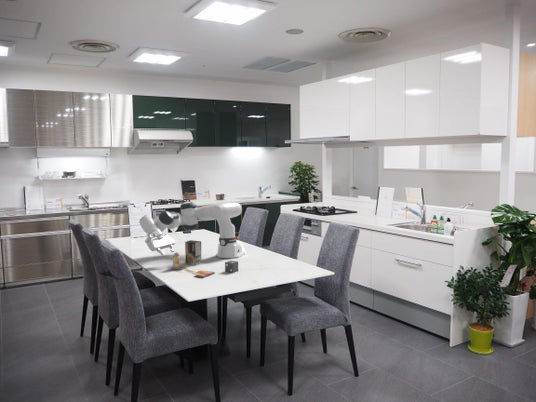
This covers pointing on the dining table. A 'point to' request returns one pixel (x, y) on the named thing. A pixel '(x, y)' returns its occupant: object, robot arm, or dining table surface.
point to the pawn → (176, 261)
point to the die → (231, 266)
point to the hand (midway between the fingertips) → (168, 252)
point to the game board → (198, 274)
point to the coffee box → (193, 252)
